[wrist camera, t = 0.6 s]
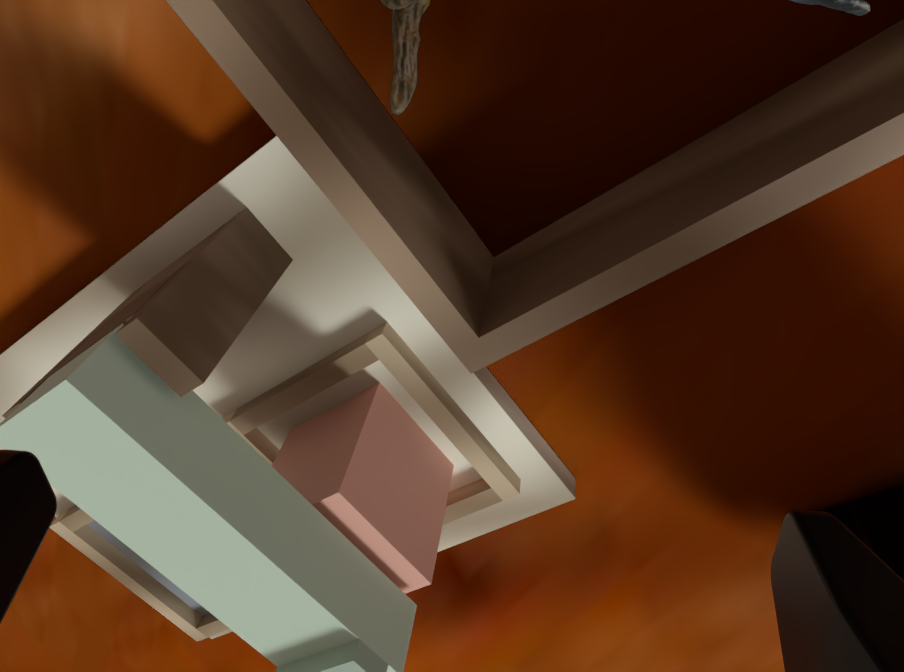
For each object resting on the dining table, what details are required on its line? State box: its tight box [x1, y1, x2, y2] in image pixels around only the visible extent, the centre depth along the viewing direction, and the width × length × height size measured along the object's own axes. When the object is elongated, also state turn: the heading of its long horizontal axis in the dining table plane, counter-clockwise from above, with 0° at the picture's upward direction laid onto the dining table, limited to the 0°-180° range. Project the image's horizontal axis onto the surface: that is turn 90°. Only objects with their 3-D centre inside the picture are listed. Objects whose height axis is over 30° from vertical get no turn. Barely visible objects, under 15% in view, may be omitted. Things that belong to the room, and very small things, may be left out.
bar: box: [0, 323, 417, 672], centre depth 18 cm, size 11×3×3 cm, turn 36°
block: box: [272, 382, 454, 594], centre depth 22 cm, size 4×4×5 cm
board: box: [0, 136, 576, 641], centre depth 23 cm, size 16×20×7 cm
